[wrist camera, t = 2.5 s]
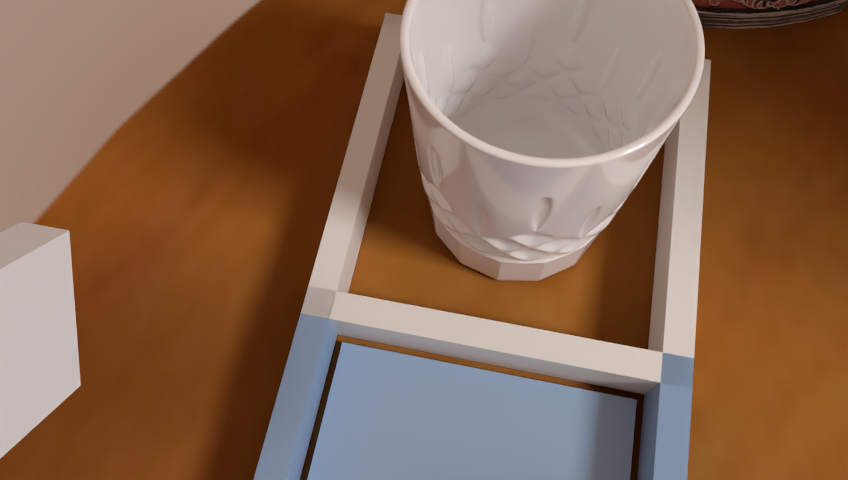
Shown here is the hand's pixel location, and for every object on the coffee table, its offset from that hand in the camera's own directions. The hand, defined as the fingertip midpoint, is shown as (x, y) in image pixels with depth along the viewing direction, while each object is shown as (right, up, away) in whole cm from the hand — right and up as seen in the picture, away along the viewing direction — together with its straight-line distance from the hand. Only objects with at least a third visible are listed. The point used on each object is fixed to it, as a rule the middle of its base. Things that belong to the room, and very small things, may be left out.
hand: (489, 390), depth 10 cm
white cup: (+3, +4, +17) cm, 18 cm away
